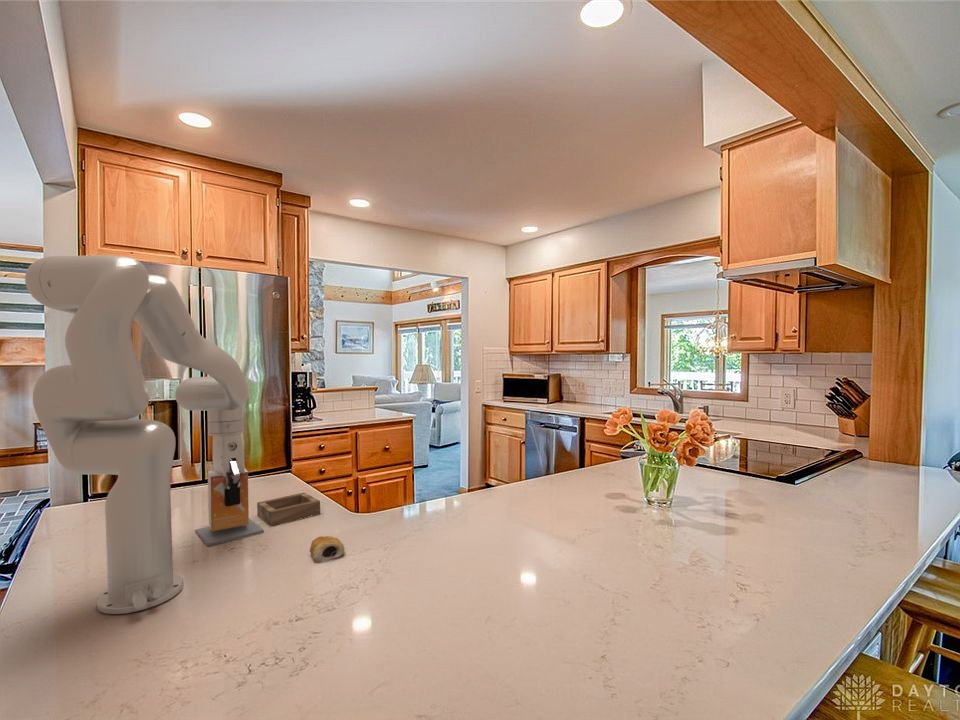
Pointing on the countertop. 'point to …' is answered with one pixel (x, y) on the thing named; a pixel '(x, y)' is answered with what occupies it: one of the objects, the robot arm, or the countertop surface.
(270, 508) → the holder
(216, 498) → the small box
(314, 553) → the pastry
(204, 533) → the mat
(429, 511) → the countertop surface
